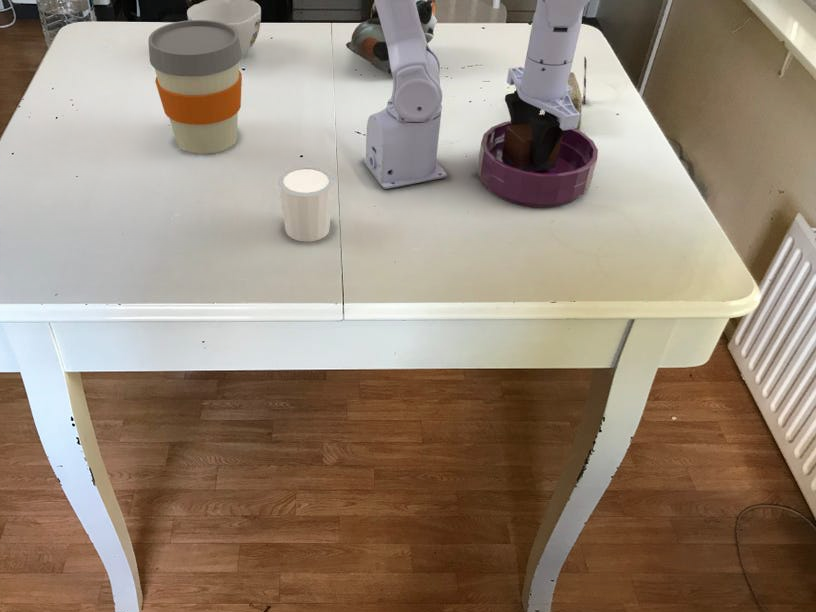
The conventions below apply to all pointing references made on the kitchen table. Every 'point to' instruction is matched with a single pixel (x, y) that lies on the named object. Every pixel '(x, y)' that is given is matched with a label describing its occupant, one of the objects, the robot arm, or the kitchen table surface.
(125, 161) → the kitchen table surface
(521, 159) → the eraser
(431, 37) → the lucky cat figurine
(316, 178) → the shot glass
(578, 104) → the cuneiform tablet
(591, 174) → the bowl
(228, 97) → the reusable coffee cup
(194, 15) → the teacup
